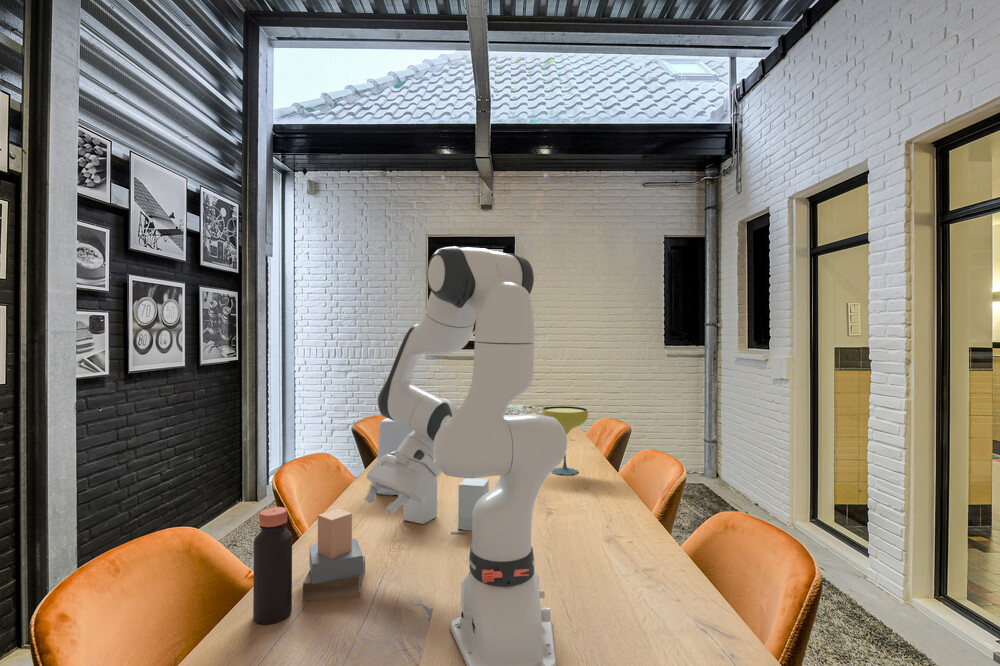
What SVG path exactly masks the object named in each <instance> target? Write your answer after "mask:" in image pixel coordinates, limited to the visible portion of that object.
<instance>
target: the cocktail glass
mask: <svg viewBox="0 0 1000 666" xmlns="http://www.w3.org/2000/svg"><path fill="white" fill-rule="evenodd" d="M541 412H542V414H541V415H544V416H550V417H554V418H556V419H557V420H558V421H559V422H560V424H561V425H562V427H563V428H564V431H565V433H566V436H567V435H568V434H569V433H570V432H571V430H573V429H575V428H577V427H579V426H581V425H582V424H584V423H585V422H587V420H588V416H589V412H588V409H587V408H584V407H578V406H570V405H569V406H567V405H564V406H562V405H561V406H559V405H558V406H547V407H544V408H543V409H542V411H541ZM575 469H576V468H573V467H572V468H571V467H568V465H567V453H566V454H565V456H564V458H563V465H562V467H556V468H554V469H553V470H552V472H554V473H556V474H555V475H557V474H563V475H562V476H564V475H570V476H573V475H572V474H576V473H577V472H578V473H579V470H578V469H576V470H575ZM577 470H578V471H577ZM552 472H551V473H552ZM554 473H553V474H554ZM576 475H577V474H576Z"/></svg>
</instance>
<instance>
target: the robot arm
mask: <svg viewBox="0 0 1000 666" xmlns="http://www.w3.org/2000/svg"><path fill="white" fill-rule="evenodd" d="M426 275H427V276H426V280H427V284H428V288H429V290H430V293H429V297H428V300H427V304H426V307H425V312H424V316H423V319H422V320H421V321H420V323H416V324H414V325H411V327H410V328H409V329H408V330H407V332H406V334H405V336H404V337H403V340H402V342H401V344H400V346H399V349H398V351H397V354H396V357H395V359H394V361H393V364H392V367H391V369H390V372H389V374H388V378H387V379H386V381H385V383H384V384H383V385H382V388H381V390H380V391H379V394H378V396H377V406H378V409H379V413H380V415H381V416H383V417H385V419H386V418H389V419H391V420H393V421H397V422H398V423H400V424H402V425H404V426H406V427H407V428H409V429H411V430H413V431H412V432H411V433H410V434H409V435H408V436H407V437H406V438H405V439H404V441H403V442H402V443H401V445H400V446H399V448H398V449H397V450H396V452H395V451H392V452H390V453H388V454H386V455H384V456H382V457H381V458H380V459H379V460H378V461H377V460H376V462H375V463H374V465H372V467H371V468H370V469H369V471H368V472H367V474H366V479H367V481H369V482H370V485H369V489H368V492H367V494H366V496H365V497H364V501H365V502H366V503H368V504H371V505H372V504H373V503H374V501H376V499H377V497H376V495H377V494H378V493H377V491H379V490H380V489H381V488H384V489H386V490H389V491H391V492H394V493H396V494H399V495H398V496H397V498H396V499H395V500H394V501H393V502H391V501H390V502H389V504H388V505H387V506H386V511H387V512H388V513H389V514H392V515H395V514H396V512H397V511H398V510H399V508H401V507H402V506H403V507H404V504H405V503H407V501H408V500H409V499H411V500H414V501H416V502H419V501H421V500H422V499H423V498H424V497H425V496H426V495H427V493H428V492H429V490H430V489H431V487H432V485H433V484H434V482H435V477H437V478H438V477H439V476H440V475H441V473H443V474H444V475H445V476H447V477H453V478H460V479H461V478H462V479H465V478H473V479H482V478H488V477H489V478H490V477H497V476H499V479H498V480H497V481H496V482H497V483H496V484H495V485H494V486H493V488H491V489H490V490H489V492H488V493H486V494H485V495H483V496H482V497H481V498H480V499H479V500H478V501H477V503H476V504H475V506H474V509H473V512H472V531H471V540H472V541H471V546H470V548H469V555H468V563H469V565H468V566H469V572H468V574H467V575H466V576H465V577H464V578H463V579H462V580H461V588H460V610H459V611H460V613H459V614H460V615H459V617H456V618H454V619H453V620H452V621H451V623H450V631H451V633H452V636H453V638H454V640H455V643H456V645H457V647H458V648H459V651H460V653H461V656H462V658H463V660H464V663H465V665H466V666H557V661H556V659H557V658H556V652H555V651H556V650H555V642H554V636H553V627H552V626H553V625H552V619H551V608H550V607H549V606H543V605H541V599H545V595H546V594H545V590H544V589H540V575H539V574H538V573H537V572H535V554H534V548H533V546H532V526H533V525H532V524H533V515H534V514H533V513H534V507H535V503H536V499H537V497H538V494H539V491H540V489H541V488H542V486H543V484H544V482H545V480H547V478H548V476H549V475H550V474H551V473H552V472H551V471H552V470H553V469H555V468H558V466H559V465H561V463H562V462H563V461H564V456H565V454H566V455H567V449H568V438H567V435H566V433H565V431H564V428H563V427H562V425H561V424H560V422H559V421H558V420H557V419H556V418H554V417H550V416H544V415H542V414H538V413H520V414H507V415H506V414H505V412H506V409H507V408H508V406H509V405H510V403H512V401H513V400H515V399H516V398H518V397H519V396H522V395H523V394H524V393H526V392H527V391H528V390H529V388H530V387H531V385H532V383H533V380H534V363H535V362H534V360H535V359H534V356H535V355H534V353H535V323H534V322H535V321H534V312H533V305H532V299H531V292H532V290H533V287H534V281H535V280H534V279H535V276H534V269H533V266H532V264H531V263H530V261H529V260H528V259H526V258H524V257H523V256H521V255H518V254H516V253H512V252H510V253H507V252H506V253H505V252H502V251H496V250H490V249H488V248H482V247H481V248H480V247H459V246H455V245H453V246H445V247H441V248H438V249H437V250H435V252H434V253H433V254H432V256H431V257H430V259H429V262H428V266H427V272H426ZM474 329H475V330H474ZM473 331H474V347H473V348H474V349H473V350H474V353H473V368H472V375H471V376H472V377H471V383H470V387H469V390H468V392H467V395H466V397H465V399H464V400H463V402H462V404H461V405H460V407H459V408H458V407H457V405H456V404H455V403H454V402H452V401H451V400H449V399H447V398H444V397H438V396H437V395H434V394H432V393H430V392H428V391H426V390H424V389H422V388H420V387H418V386H417V385H415V384H414V383H413V382H412V380H411V379H412V375H413V373H414V371H415V368H416V365H417V363H418V361H419V358H420V356H421V355H437V356H440V355H441V356H442V355H449V354H453V353H455V352H459V351H461V349H464V347H466V346H467V345H468V343H469V341H470V339H471V336H472V334H473ZM504 414H505V415H504Z"/></svg>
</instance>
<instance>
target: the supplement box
mask: <svg viewBox="0 0 1000 666" xmlns="http://www.w3.org/2000/svg"><path fill="white" fill-rule="evenodd" d="M489 480H490V479H487V478H463V480H462V481H461V482H460V483H459V484H458V508H457V509H458V510H457V511H458V517H457V518H458V520H457V523H458V524H457V525H458V527H457V530H459V529H462V531H469V530H472V512H473V509H474V506H475V504H476V503H477V501H478V500H479V499H480V498H481V497H482V496H483V495H485V494H486V493H488V492H489V491H490V490H489V487H490V486H489V485H490V483H489V482H490V481H489Z"/></svg>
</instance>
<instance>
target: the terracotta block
mask: <svg viewBox="0 0 1000 666" xmlns="http://www.w3.org/2000/svg"><path fill="white" fill-rule="evenodd" d="M352 534H353V513H351V512H349V511H345V510H344V509H340V508H336V509H332V510H329V511H326V512H323V513H319V514H318V515H317V544H318V553H320V554H322V555H324V556H327V557H329V558H331V559H332V558H335V557H337V556H339V555H342V554H344V553H347V552H349V551H352V539H353V538H352V537H353V535H352Z"/></svg>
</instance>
